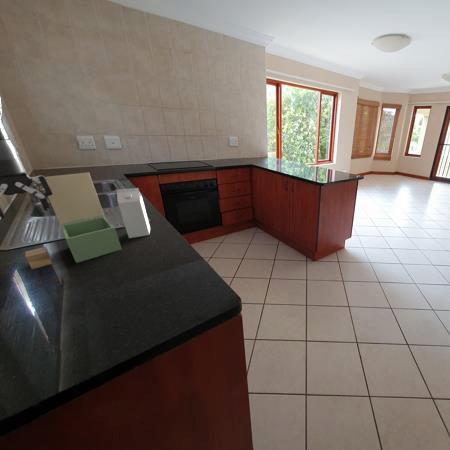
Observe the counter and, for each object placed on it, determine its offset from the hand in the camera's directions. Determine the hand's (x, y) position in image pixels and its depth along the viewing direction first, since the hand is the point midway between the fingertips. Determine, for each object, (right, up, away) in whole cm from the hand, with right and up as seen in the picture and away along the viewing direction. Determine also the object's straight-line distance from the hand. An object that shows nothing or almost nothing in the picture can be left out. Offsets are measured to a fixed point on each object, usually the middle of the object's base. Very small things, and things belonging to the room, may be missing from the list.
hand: (25, 213), depth 70 cm
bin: (+7, -12, +16) cm, 21 cm away
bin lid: (+1, +6, +15) cm, 16 cm away
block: (-3, -16, +7) cm, 18 cm away
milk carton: (+15, -7, +28) cm, 33 cm away
